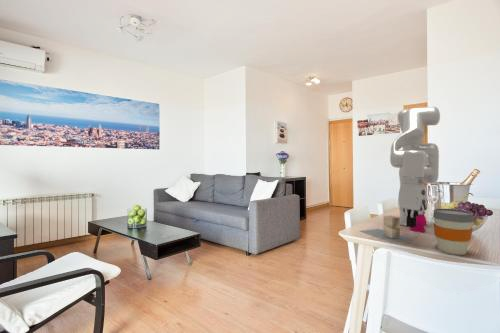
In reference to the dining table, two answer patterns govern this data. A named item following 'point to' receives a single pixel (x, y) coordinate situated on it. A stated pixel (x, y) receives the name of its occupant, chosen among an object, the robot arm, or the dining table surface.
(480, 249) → the dining table surface
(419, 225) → the pepper mill
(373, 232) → the slate mat
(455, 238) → the reusable coffee cup
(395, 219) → the beech block
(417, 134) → the robot arm
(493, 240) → the dining table surface
